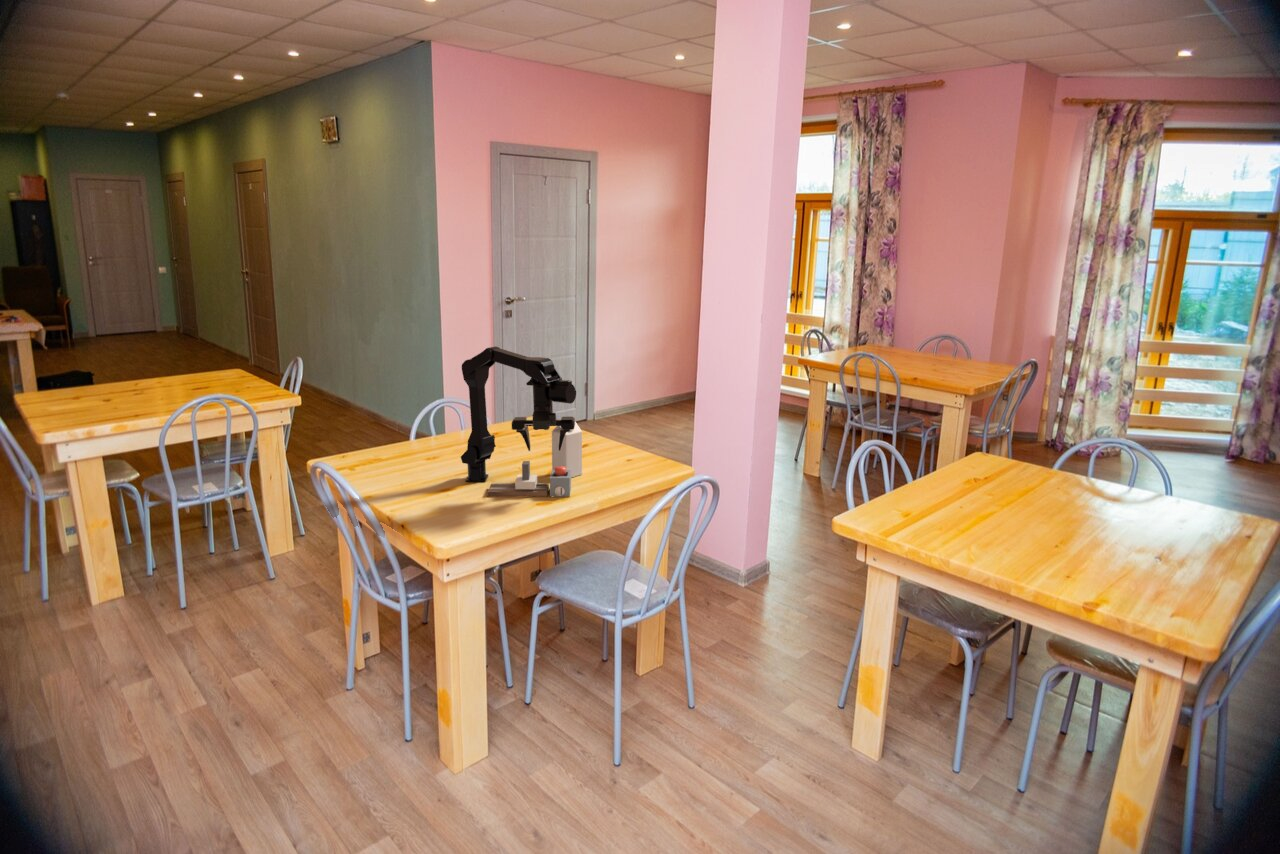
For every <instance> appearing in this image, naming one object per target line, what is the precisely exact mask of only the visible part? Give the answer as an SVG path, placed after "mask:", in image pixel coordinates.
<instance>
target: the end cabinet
mask: <svg viewBox="0 0 1280 854" xmlns="http://www.w3.org/2000/svg"><path fill="white" fill-rule="evenodd" d="M571 491H572V477H571V470H566V475H564V476H557V475H555V470H552V469H551V471H550V475H549V497H550V496H553V498H554V497H559V498H561V497H564V498H565V497H566V498H569V497H571Z"/></svg>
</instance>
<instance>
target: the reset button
mask: <svg viewBox="0 0 1280 854" xmlns="http://www.w3.org/2000/svg"><path fill="white" fill-rule="evenodd" d="M555 475H557V476H564V475H566V467H565V466H557V467H555Z"/></svg>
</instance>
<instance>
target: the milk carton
mask: <svg viewBox="0 0 1280 854" xmlns="http://www.w3.org/2000/svg"><path fill="white" fill-rule="evenodd" d="M560 429H561V426H554V428H553V429H552V430H551V467H552V469H551V471H552V470H555V467H557V466H565V467H566V470H571V478H574V477H577V476H582V475H583V431H582V429H581V427H580V426H579V425H578V423H577V422H576V421H575V427H574V429H570V432H566V434H565V436H564V439H563V442H562V446H561V450H560V451H559V438H560Z"/></svg>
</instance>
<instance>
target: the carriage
mask: <svg viewBox="0 0 1280 854" xmlns="http://www.w3.org/2000/svg"><path fill="white" fill-rule="evenodd" d="M514 483H515V489H535V488H536V485H537V483H538V474H531V461H530V460H523V461H522V464H521V474H517V476H516V478H515V482H514Z"/></svg>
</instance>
